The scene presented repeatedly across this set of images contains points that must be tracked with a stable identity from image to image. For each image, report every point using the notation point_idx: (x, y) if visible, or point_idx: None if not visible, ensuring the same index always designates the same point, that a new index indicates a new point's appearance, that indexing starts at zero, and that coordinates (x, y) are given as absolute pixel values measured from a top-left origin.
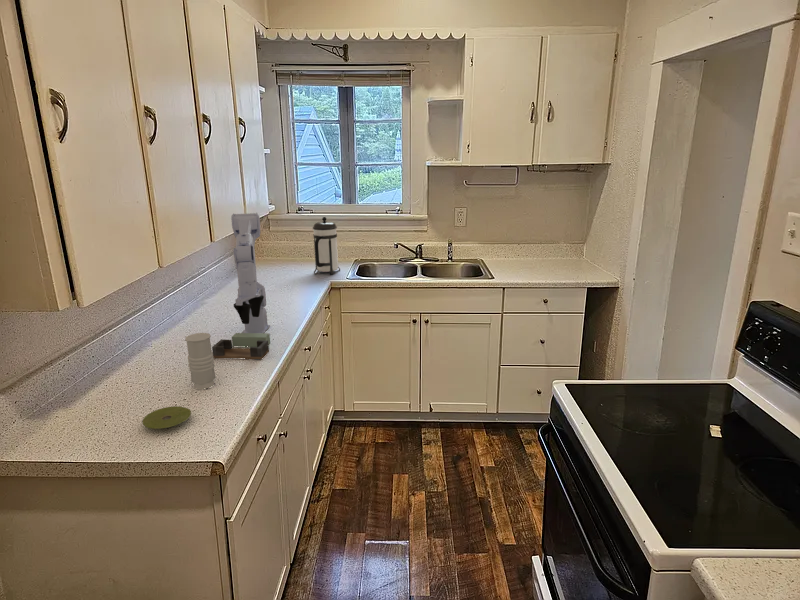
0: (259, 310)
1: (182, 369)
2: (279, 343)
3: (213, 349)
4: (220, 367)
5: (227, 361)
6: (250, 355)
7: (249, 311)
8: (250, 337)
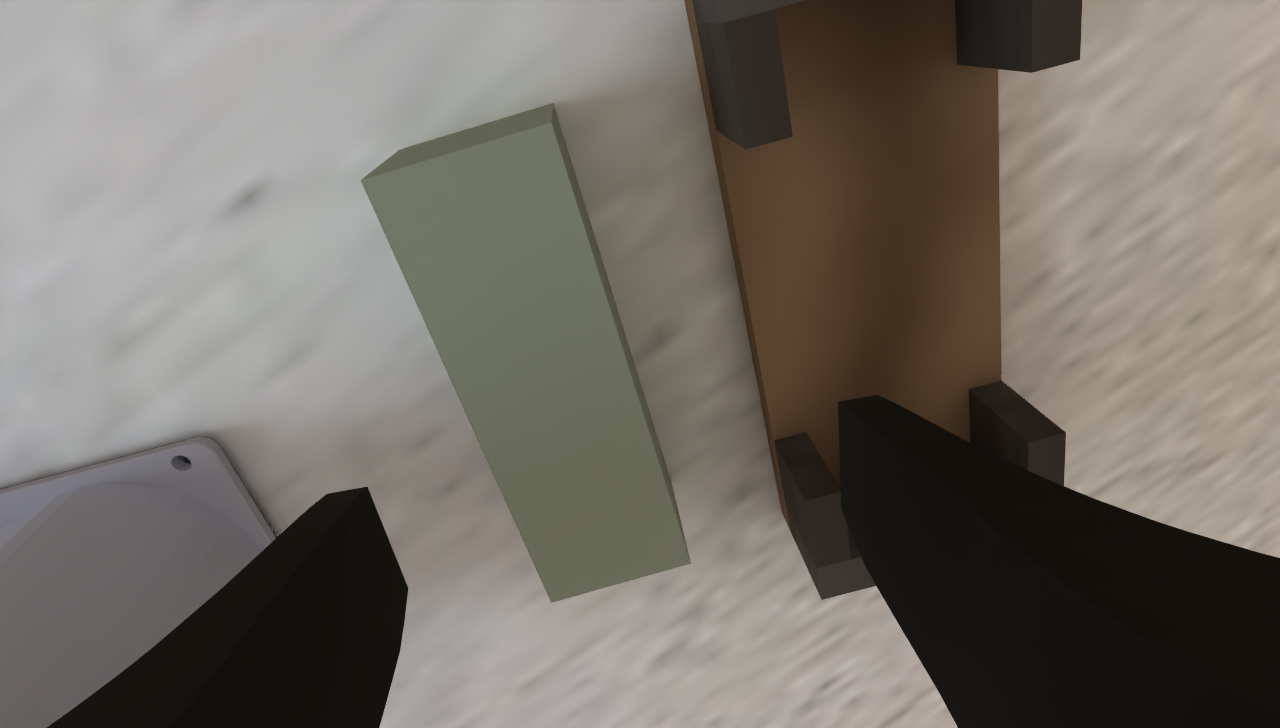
0: (260, 579)
1: (1228, 523)
2: (335, 9)
3: None
4: (1201, 253)
5: (1045, 288)
6: (958, 85)
7: (1047, 550)
8: (624, 353)
